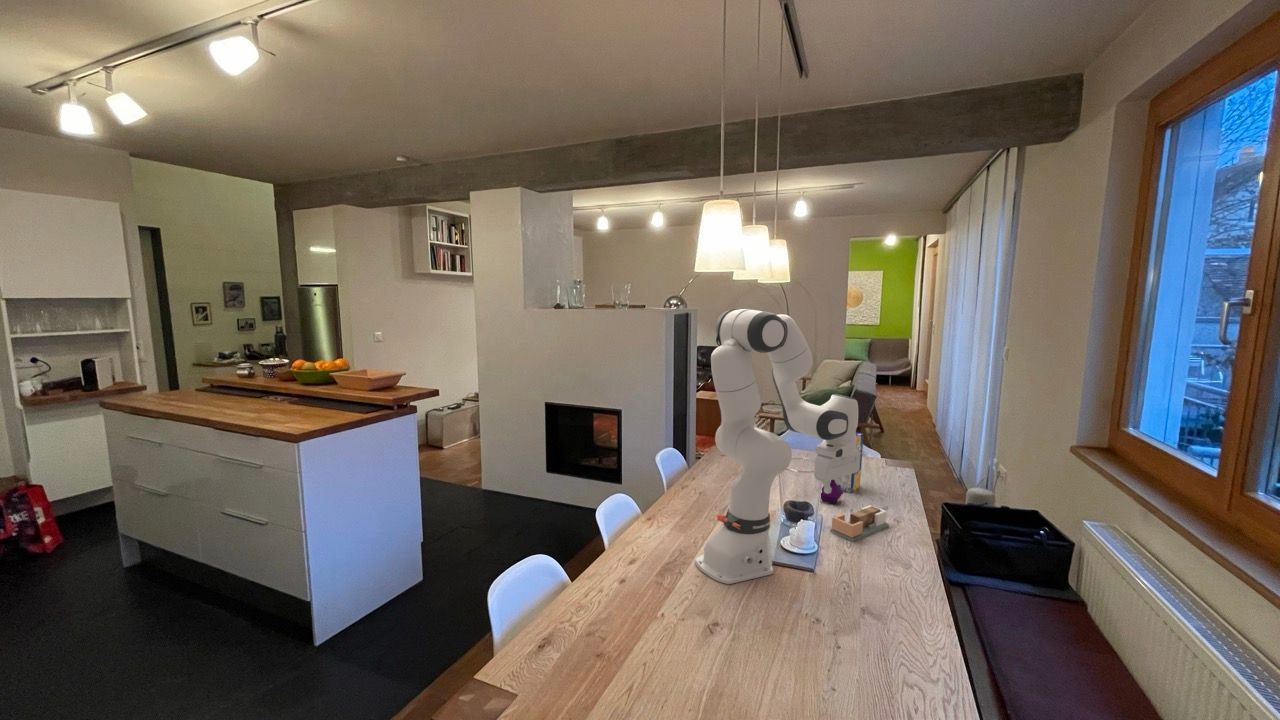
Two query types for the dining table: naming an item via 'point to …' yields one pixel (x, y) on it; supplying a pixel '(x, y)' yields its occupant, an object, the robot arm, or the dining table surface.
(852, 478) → the beverage box
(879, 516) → the grey slotted holder
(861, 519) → the brown rectangular block
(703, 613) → the dining table surface
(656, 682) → the dining table surface
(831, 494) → the perfume bottle
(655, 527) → the dining table surface
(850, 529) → the cap
